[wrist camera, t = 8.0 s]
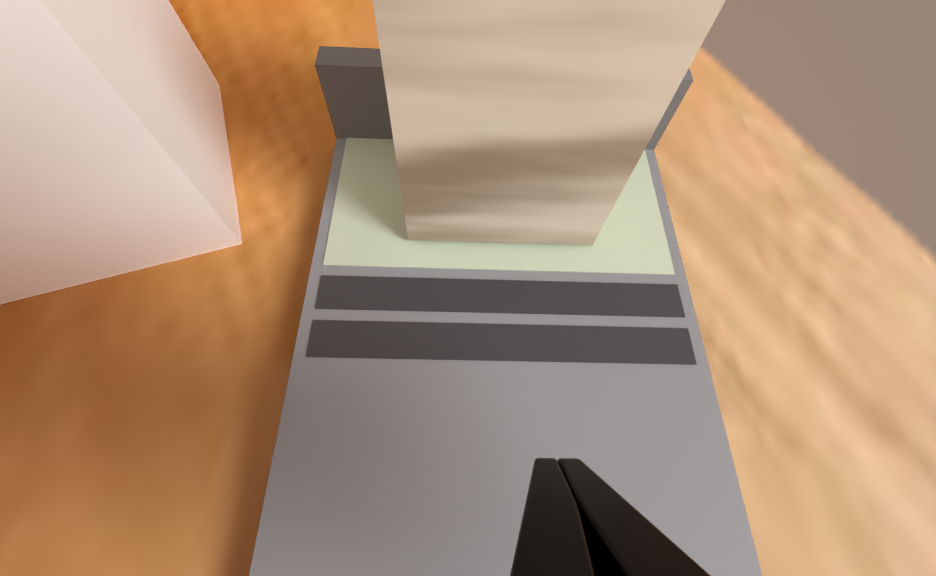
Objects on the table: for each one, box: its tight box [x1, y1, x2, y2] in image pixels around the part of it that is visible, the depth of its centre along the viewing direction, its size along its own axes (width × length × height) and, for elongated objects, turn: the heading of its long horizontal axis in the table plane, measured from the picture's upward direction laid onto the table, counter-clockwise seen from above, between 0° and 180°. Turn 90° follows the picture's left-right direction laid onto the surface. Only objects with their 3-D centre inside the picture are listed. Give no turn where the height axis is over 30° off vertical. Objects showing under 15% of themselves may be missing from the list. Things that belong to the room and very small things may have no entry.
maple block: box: [373, 0, 725, 245], centre depth 15 cm, size 5×8×12 cm, turn 90°
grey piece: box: [249, 46, 762, 576], centre depth 15 cm, size 26×16×6 cm, turn 179°
